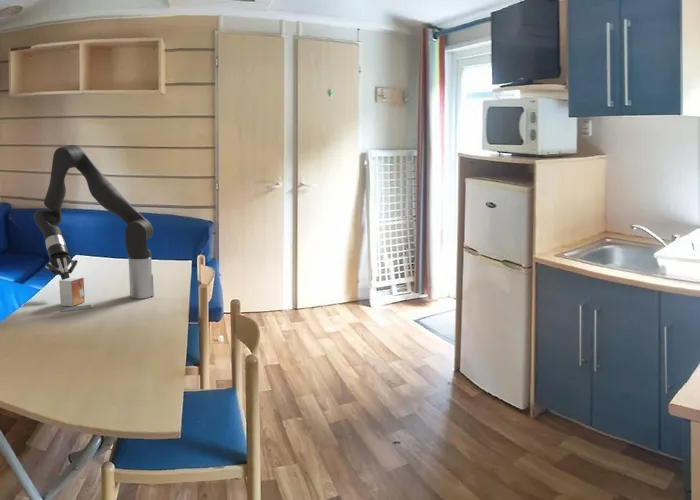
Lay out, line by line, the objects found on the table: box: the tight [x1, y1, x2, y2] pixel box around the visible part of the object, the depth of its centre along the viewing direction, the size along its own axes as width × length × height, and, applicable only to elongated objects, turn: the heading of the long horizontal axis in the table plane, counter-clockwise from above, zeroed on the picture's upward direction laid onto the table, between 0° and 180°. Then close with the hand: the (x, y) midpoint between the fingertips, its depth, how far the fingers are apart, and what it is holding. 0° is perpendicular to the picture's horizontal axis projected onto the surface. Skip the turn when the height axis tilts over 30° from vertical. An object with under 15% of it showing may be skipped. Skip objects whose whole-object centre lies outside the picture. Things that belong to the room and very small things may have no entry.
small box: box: [58, 276, 86, 307], centre depth 232 cm, size 8×6×10 cm
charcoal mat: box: [60, 304, 93, 313], centre depth 227 cm, size 11×5×1 cm, turn 121°
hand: (66, 281), depth 237 cm, fingers closed
